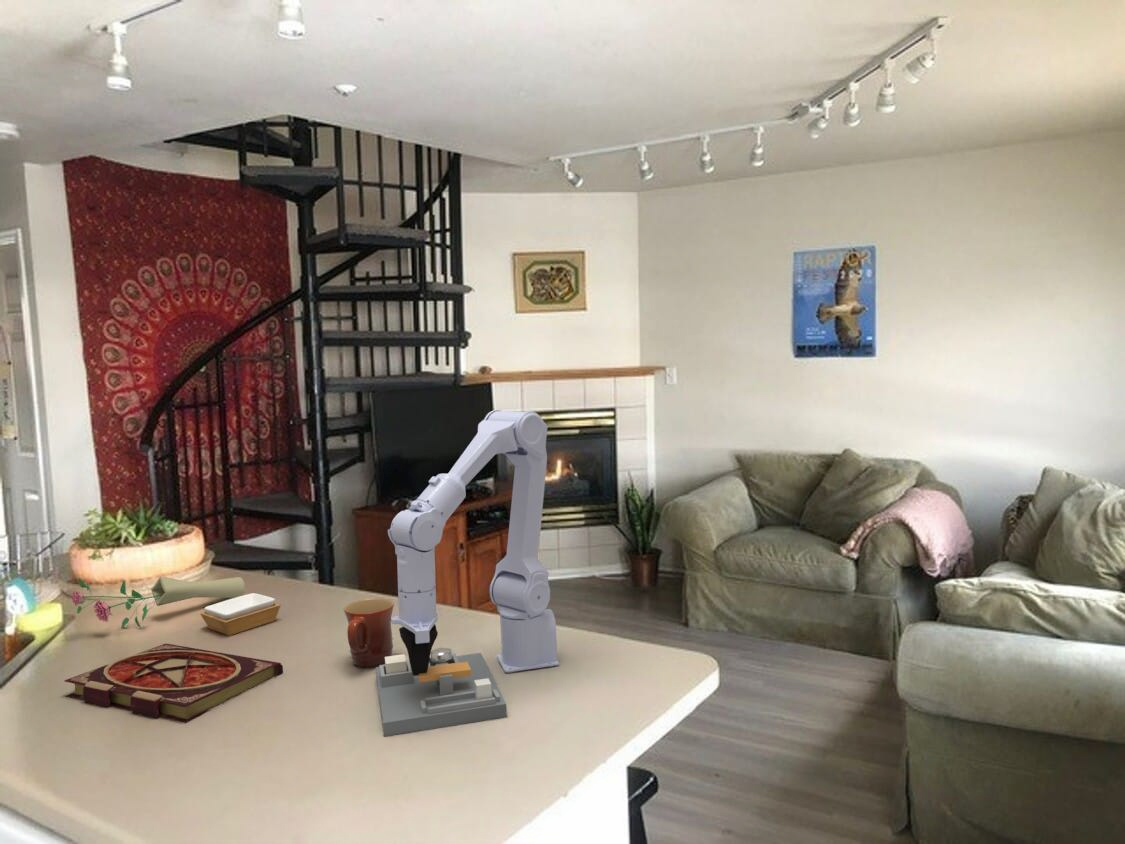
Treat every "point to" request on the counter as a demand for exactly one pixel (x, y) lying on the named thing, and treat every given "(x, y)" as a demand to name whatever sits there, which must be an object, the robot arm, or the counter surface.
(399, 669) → the button square
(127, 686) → the book
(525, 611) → the robot arm
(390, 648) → the mug
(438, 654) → the button round
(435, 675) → the rocker
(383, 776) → the counter surface
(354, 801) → the counter surface
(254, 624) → the soap dish
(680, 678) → the counter surface
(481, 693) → the slider knob
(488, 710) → the console
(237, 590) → the flower vase
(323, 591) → the counter surface
